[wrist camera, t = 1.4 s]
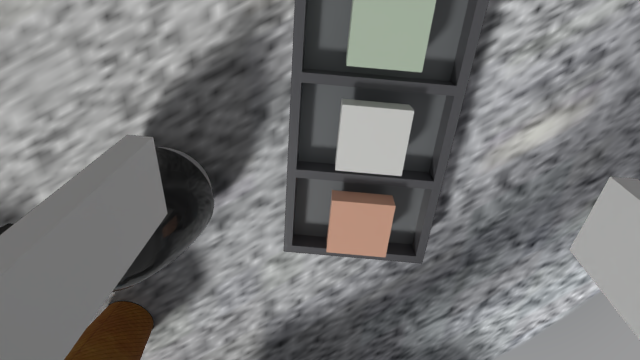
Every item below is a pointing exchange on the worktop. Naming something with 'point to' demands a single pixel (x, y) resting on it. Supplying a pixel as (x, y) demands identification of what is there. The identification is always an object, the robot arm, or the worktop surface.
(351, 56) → the key sage
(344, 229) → the key terracotta
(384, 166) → the key grey
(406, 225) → the grey compartment tray
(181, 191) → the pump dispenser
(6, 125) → the worktop surface
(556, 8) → the worktop surface
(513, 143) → the worktop surface
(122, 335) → the disposable coffee cup
